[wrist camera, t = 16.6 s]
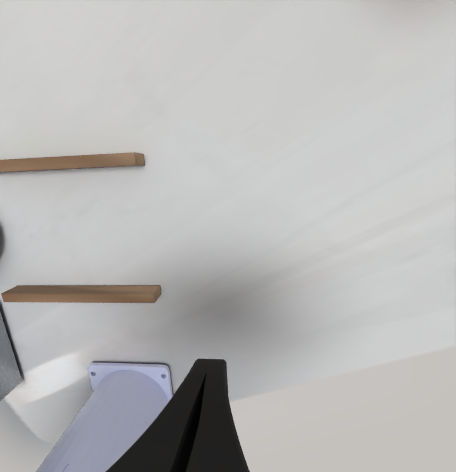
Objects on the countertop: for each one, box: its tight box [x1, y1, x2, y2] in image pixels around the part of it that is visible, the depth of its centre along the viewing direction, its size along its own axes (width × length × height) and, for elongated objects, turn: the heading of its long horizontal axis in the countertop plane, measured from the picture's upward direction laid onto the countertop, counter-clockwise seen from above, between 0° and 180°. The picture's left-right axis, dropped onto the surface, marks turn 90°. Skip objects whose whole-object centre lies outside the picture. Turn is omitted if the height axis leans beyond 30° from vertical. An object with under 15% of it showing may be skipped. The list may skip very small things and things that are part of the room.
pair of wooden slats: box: [0, 153, 161, 303], centre depth 19 cm, size 12×14×2 cm
